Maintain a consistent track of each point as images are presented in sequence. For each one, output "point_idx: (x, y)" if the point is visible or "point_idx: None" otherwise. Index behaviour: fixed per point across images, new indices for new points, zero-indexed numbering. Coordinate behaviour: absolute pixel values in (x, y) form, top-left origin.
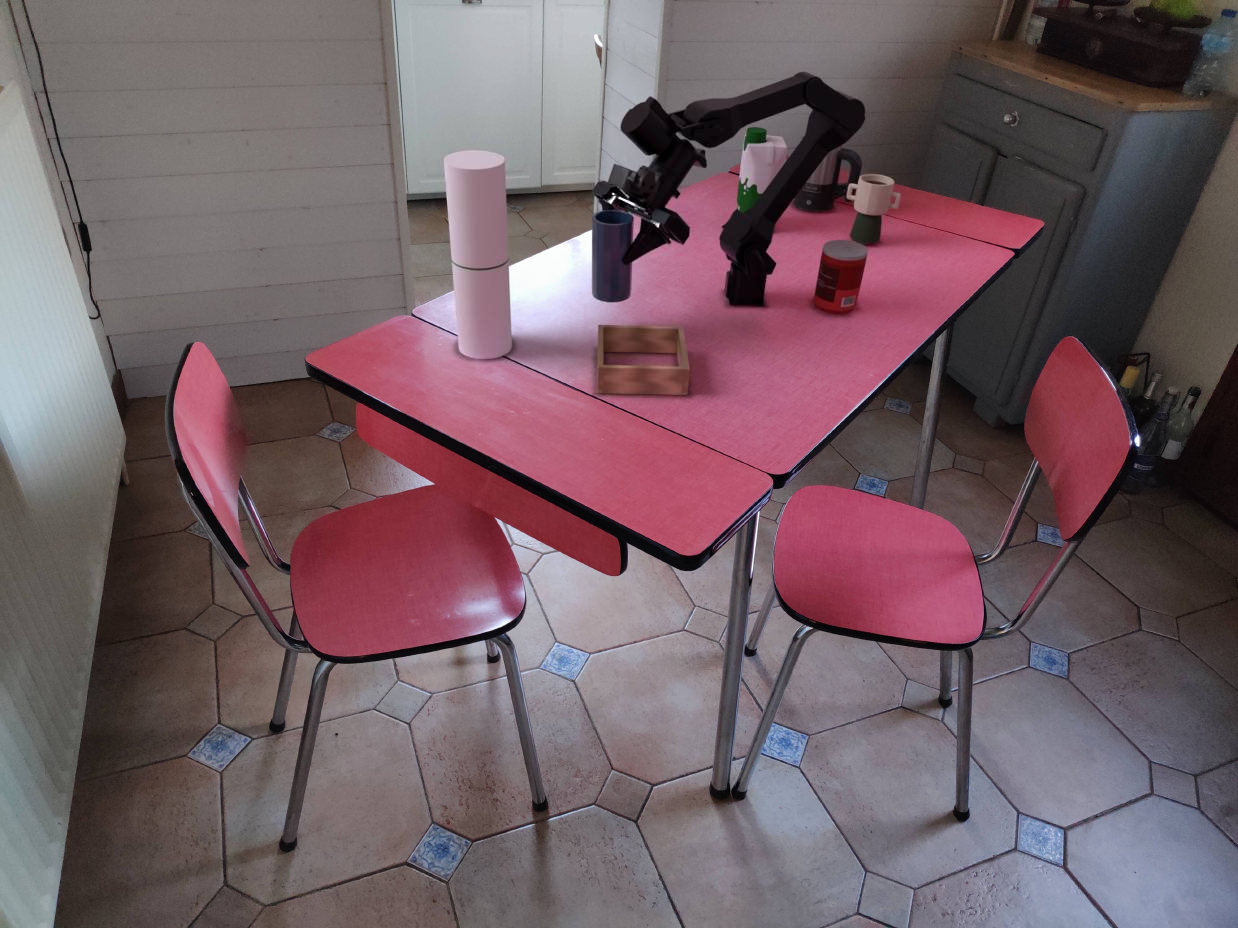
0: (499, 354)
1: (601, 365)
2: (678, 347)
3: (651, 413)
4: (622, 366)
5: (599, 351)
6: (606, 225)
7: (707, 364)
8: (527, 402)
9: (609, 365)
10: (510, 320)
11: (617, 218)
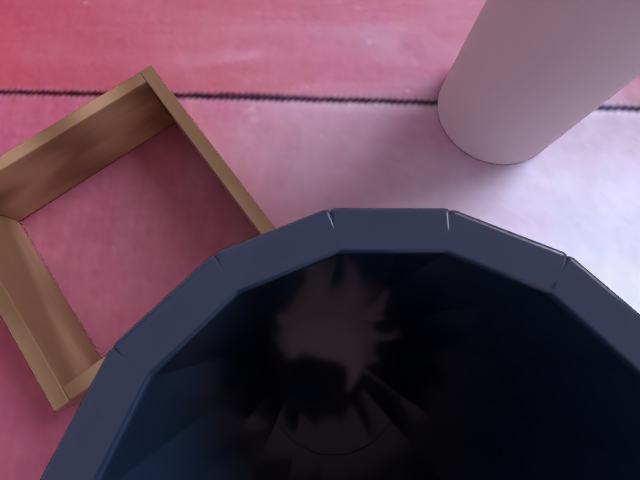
0: (440, 91)
1: (147, 75)
2: (64, 343)
3: (44, 117)
4: (100, 101)
5: (191, 123)
6: (291, 223)
7: (14, 380)
8: (272, 10)
9: (130, 86)
10: (480, 95)
11: None
